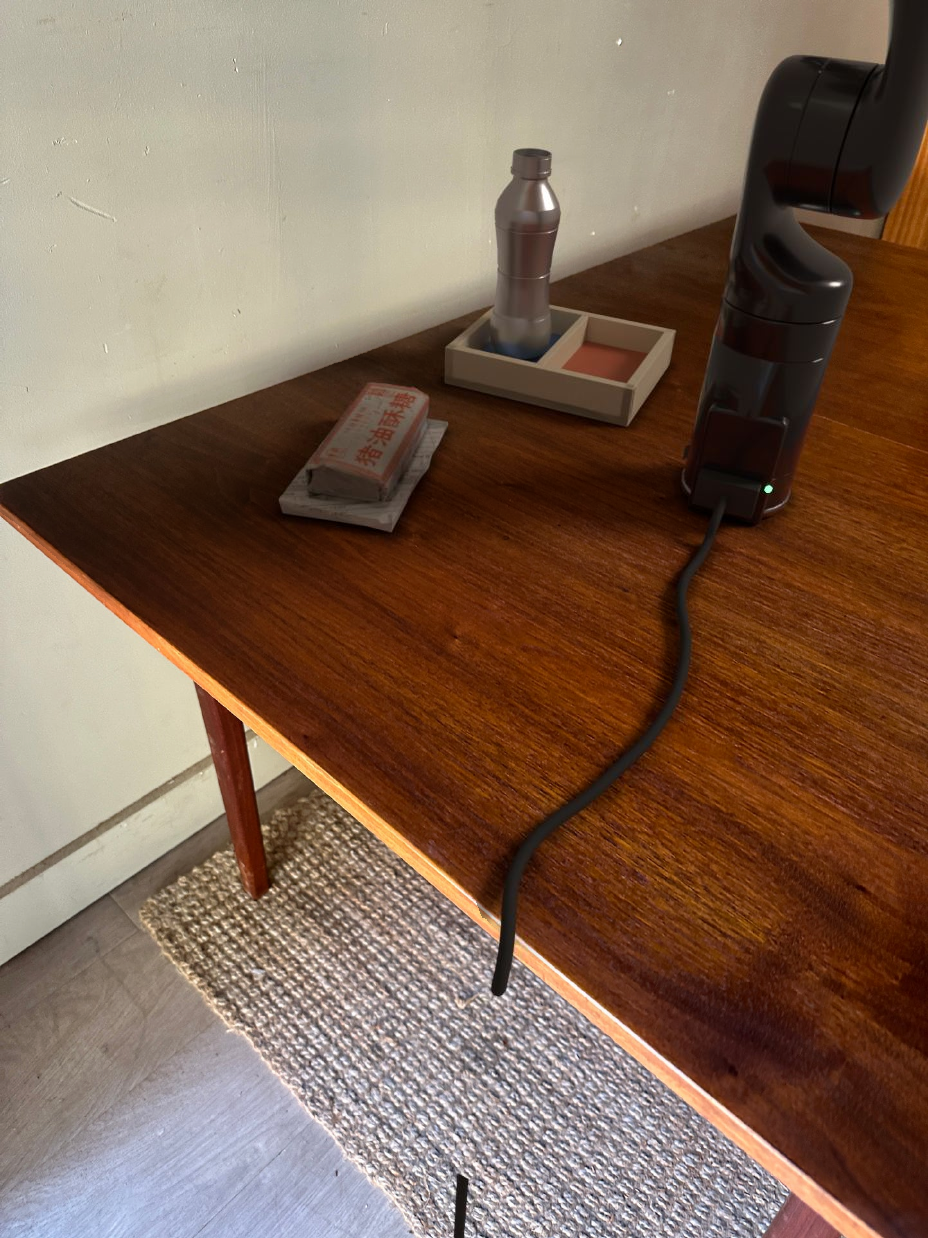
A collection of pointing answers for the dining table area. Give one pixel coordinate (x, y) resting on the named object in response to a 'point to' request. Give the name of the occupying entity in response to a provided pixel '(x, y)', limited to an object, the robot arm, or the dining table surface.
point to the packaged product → (368, 460)
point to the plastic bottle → (524, 257)
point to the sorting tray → (568, 365)
